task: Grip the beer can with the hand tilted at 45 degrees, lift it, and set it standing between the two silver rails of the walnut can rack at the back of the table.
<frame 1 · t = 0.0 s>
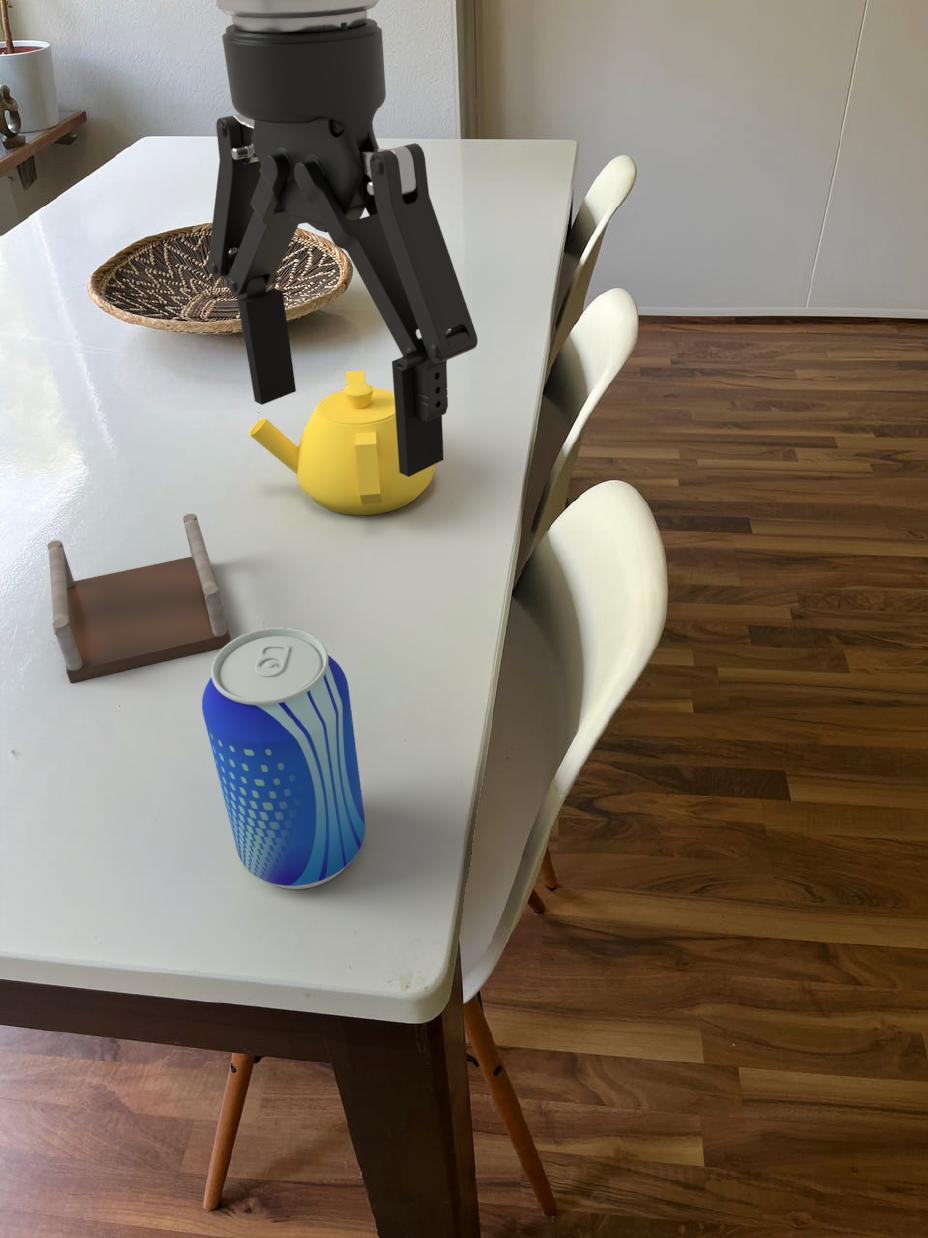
hand: (344, 429, 59), 25 cm above the table, tool pointing down, fingers open, 13 cm apart
rail rack: (144, 619, 86), on the table
beer can: (304, 848, 66), on the table
teapot: (348, 489, 103), on the table
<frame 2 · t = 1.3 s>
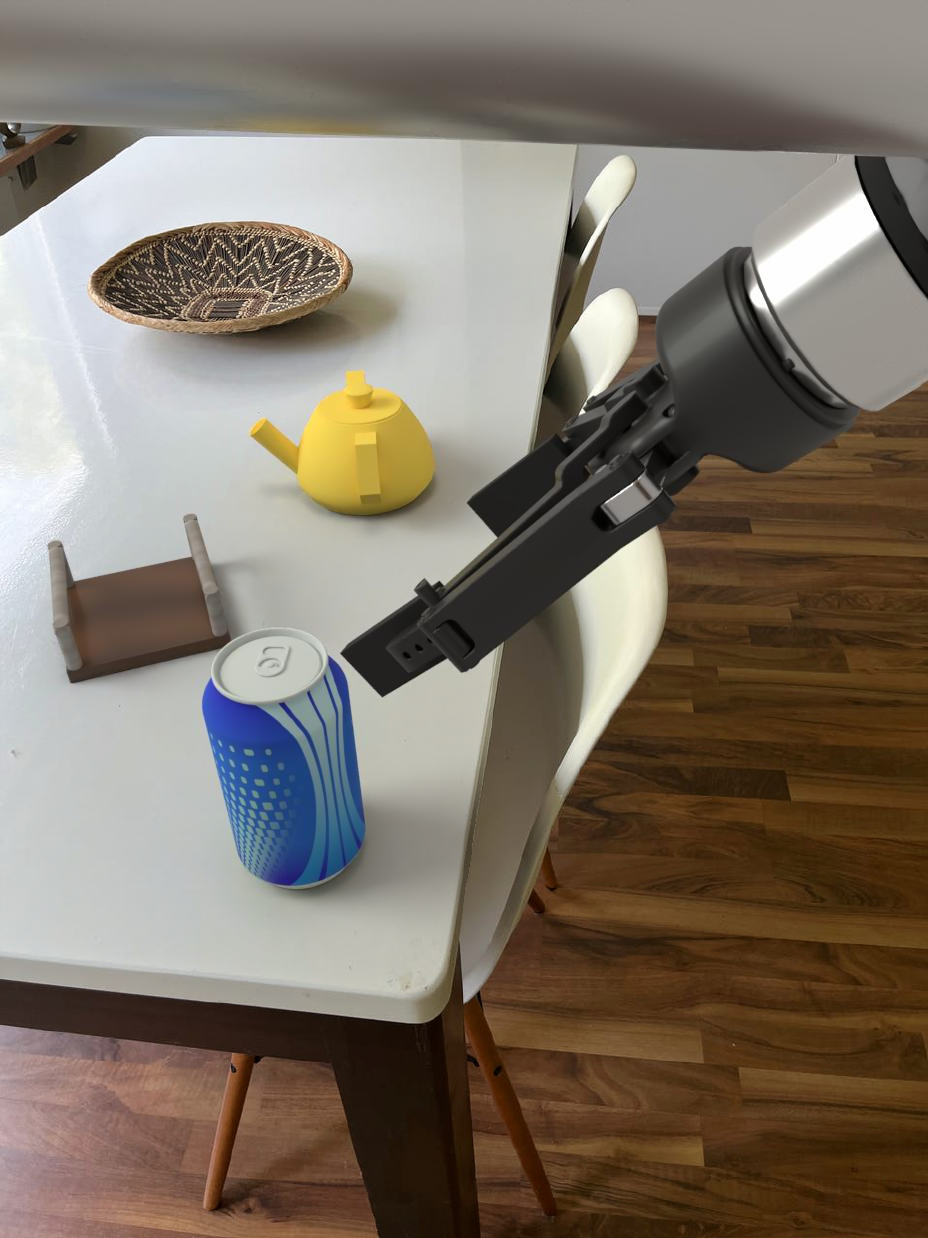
hand: (431, 587, 48), 24 cm above the table, tool tilted 45°, fingers open, 13 cm apart
nothing on the table moved.
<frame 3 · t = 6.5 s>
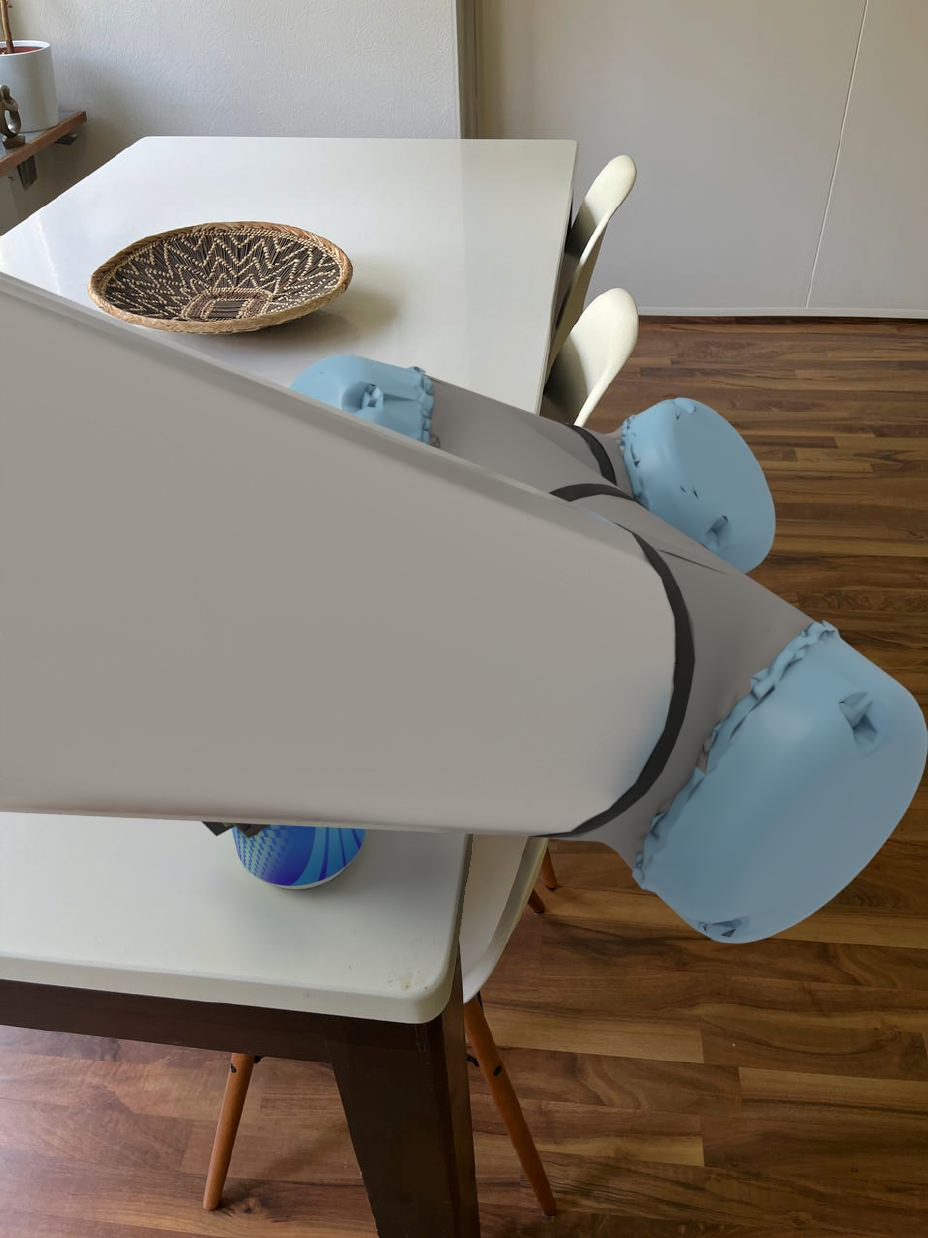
hand: (247, 766, 63), 6 cm above the table, tool tilted 45°, fingers closed on beer can, 8 cm apart
beer can: (304, 849, 66), on the table, touching gripper
everything else where it was.
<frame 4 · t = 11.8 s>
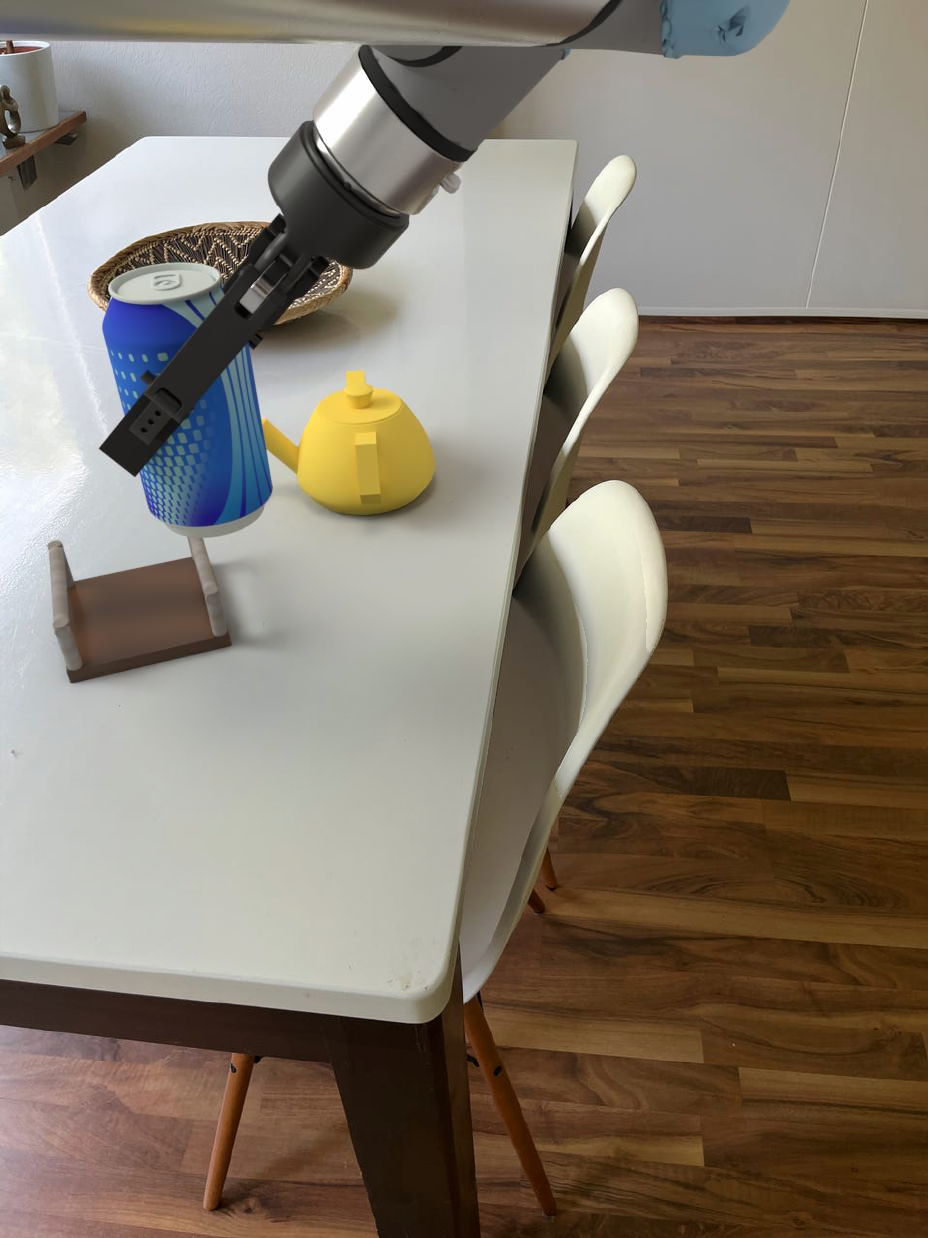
hand: (148, 426, 65), 23 cm above the table, tool tilted 45°, fingers closed on beer can, 8 cm apart
beer can: (214, 513, 68), point 16 cm above the table, touching gripper
everything else where it was.
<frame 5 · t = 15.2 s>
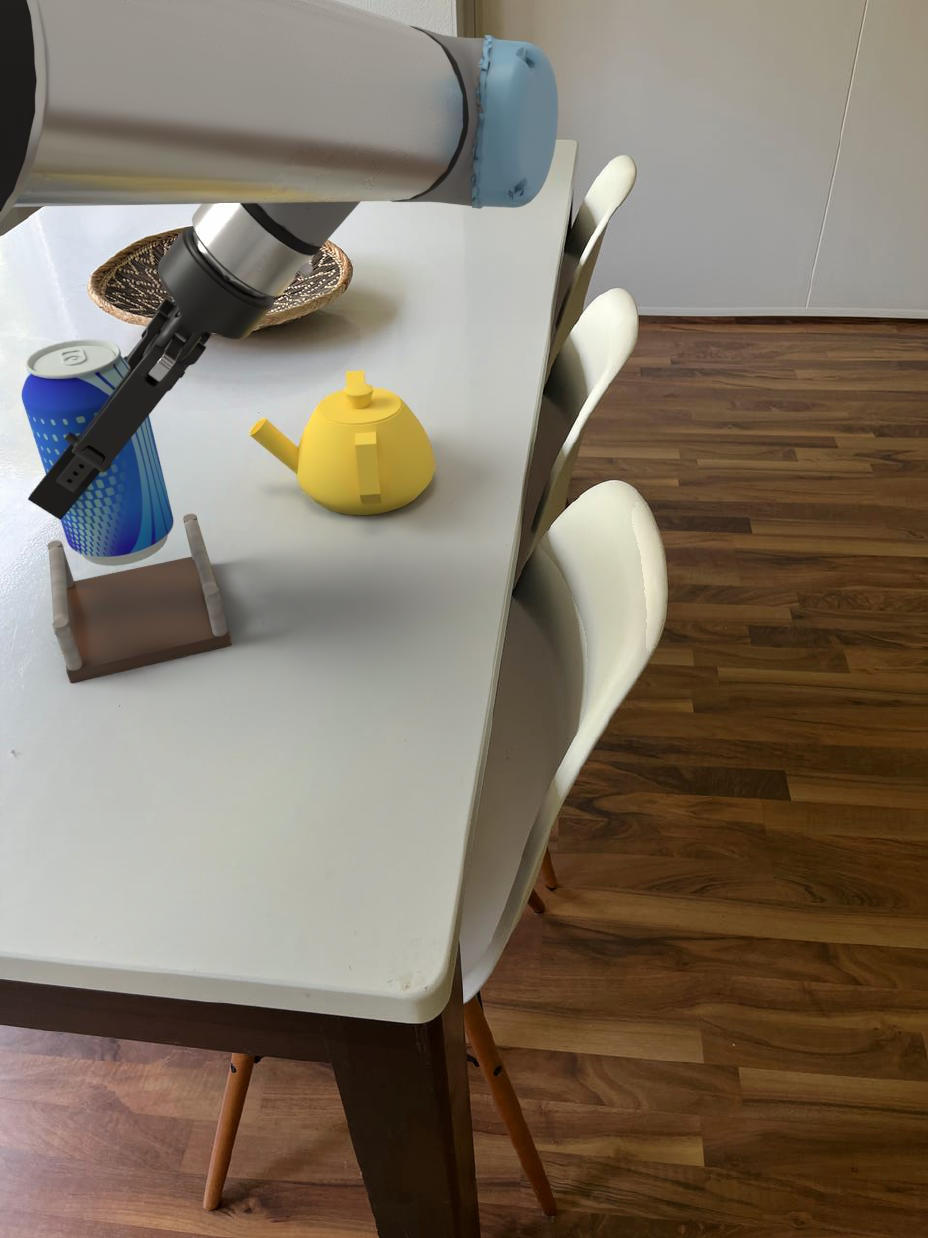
hand: (62, 476, 77), 14 cm above the table, tool tilted 45°, fingers closed on beer can, 8 cm apart
beer can: (125, 544, 81), point 8 cm above the table, touching gripper
everything else where it was.
when the fingers open (7 cm above the table, at t = 17.6 s): beer can stays where it is, resting on rail rack.
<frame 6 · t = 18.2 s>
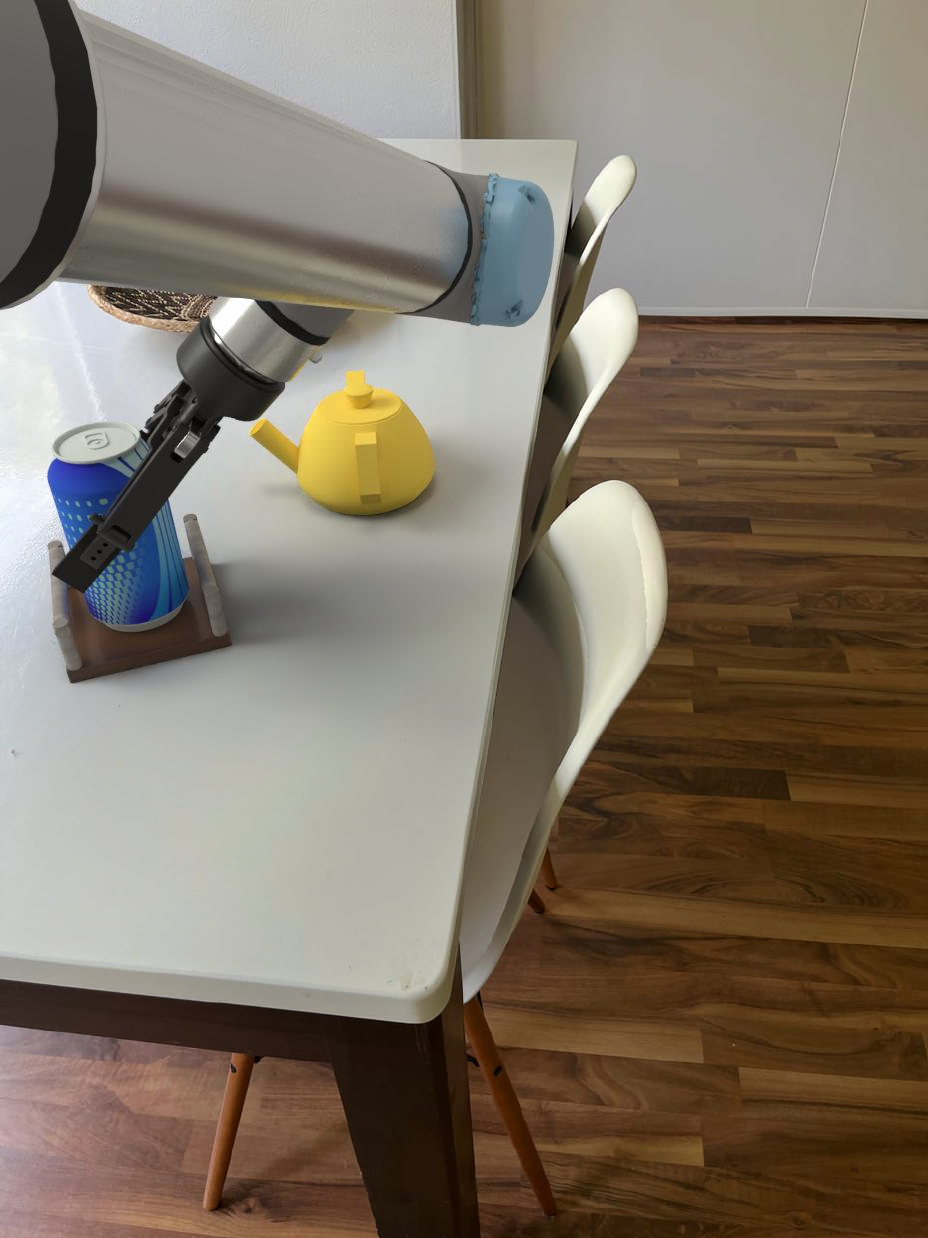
hand: (91, 533, 80), 9 cm above the table, tool tilted 45°, fingers open, 13 cm apart
beer can: (142, 609, 85), point 1 cm above the table, touching rail rack
everything else where it was.
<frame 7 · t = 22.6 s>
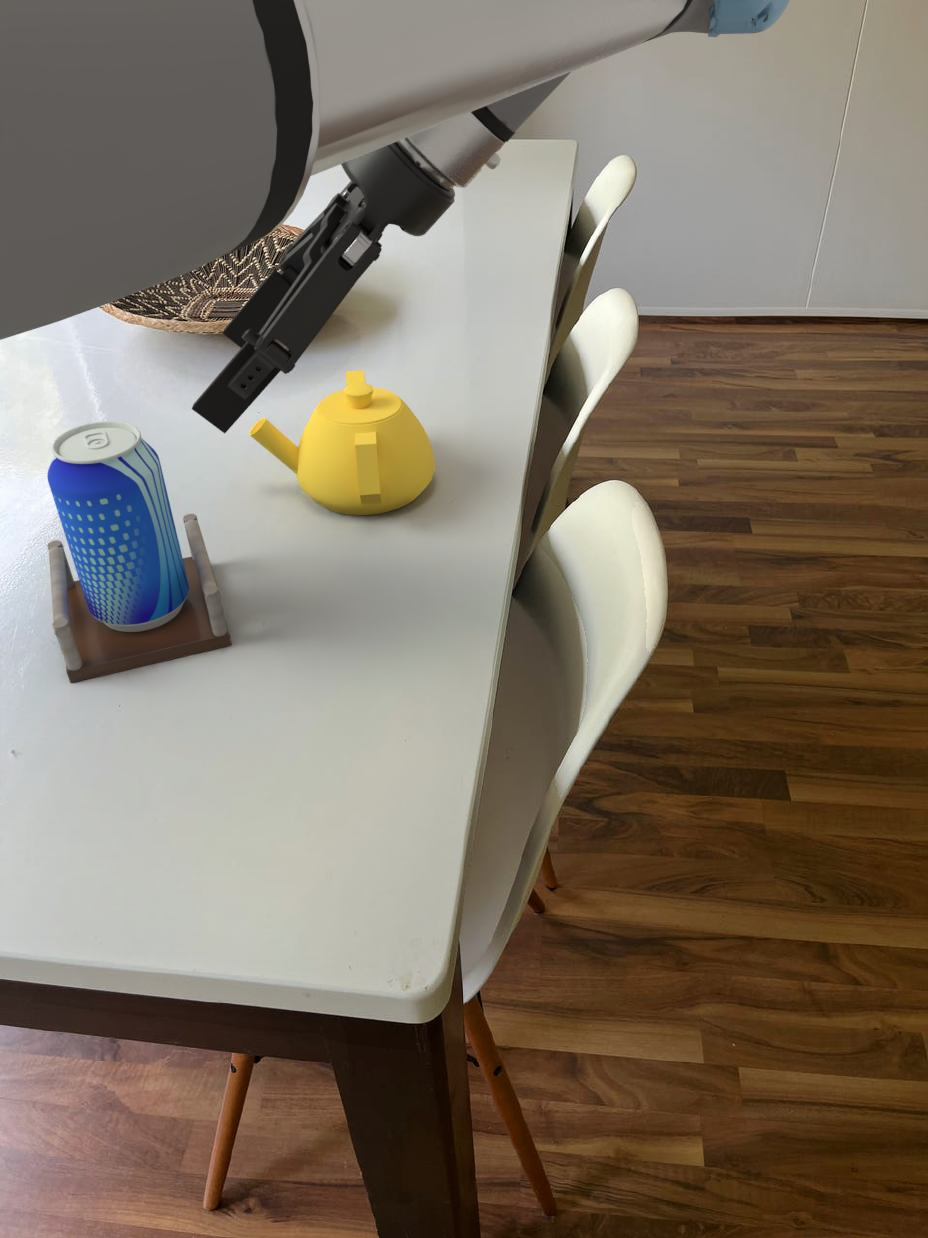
hand: (223, 378, 73), 22 cm above the table, tool tilted 45°, fingers open, 13 cm apart
nothing on the table moved.
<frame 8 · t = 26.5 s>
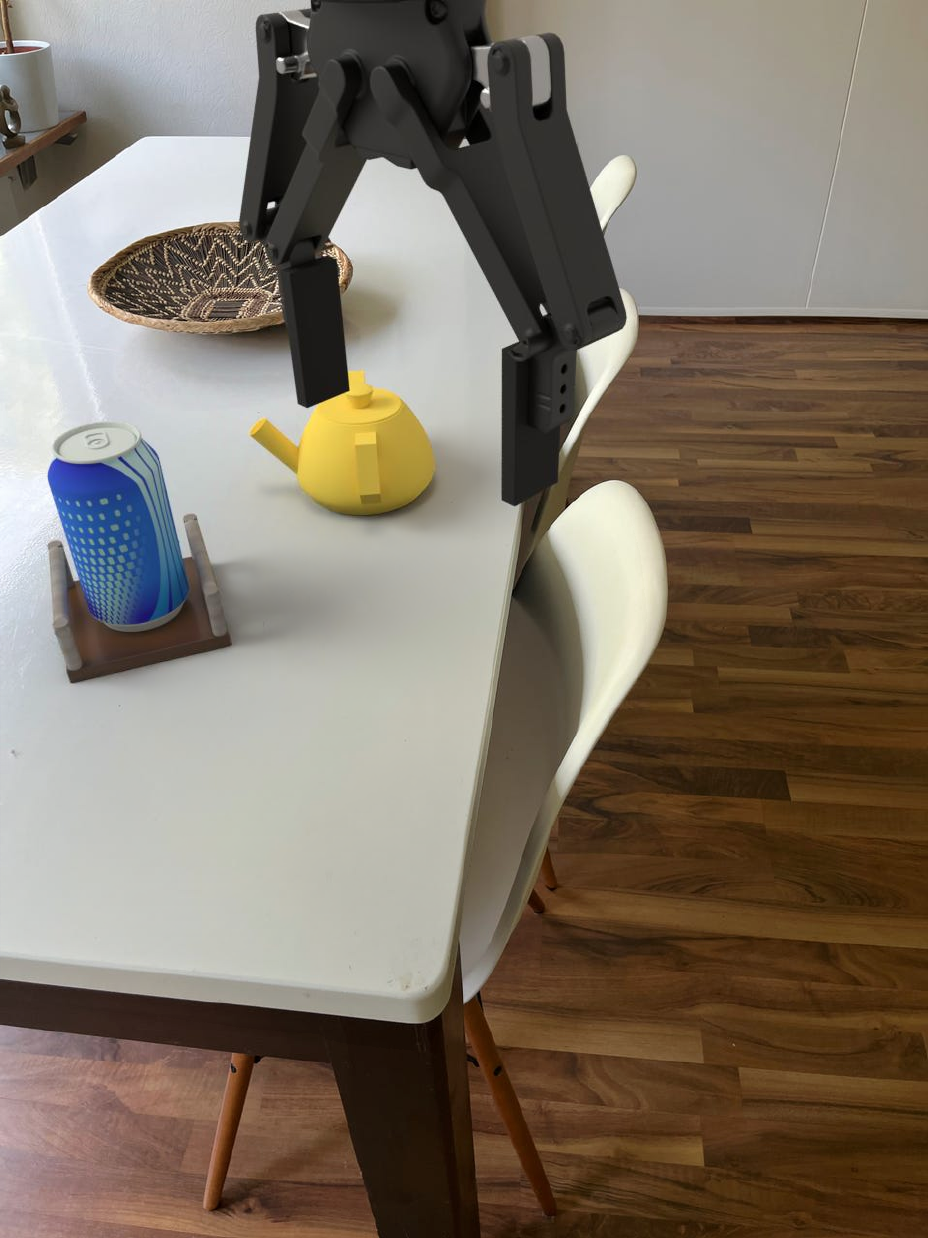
hand: (418, 441, 45), 31 cm above the table, tool pointing down, fingers open, 13 cm apart
nothing on the table moved.
at the end: beer can inside the target area on the rail rack (0.1 cm from its centre), point 1.0 cm above the rail rack's base; beer can tilted 0°; the gripper is holding nothing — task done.
